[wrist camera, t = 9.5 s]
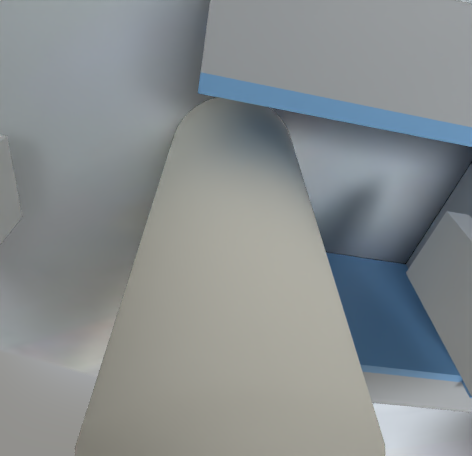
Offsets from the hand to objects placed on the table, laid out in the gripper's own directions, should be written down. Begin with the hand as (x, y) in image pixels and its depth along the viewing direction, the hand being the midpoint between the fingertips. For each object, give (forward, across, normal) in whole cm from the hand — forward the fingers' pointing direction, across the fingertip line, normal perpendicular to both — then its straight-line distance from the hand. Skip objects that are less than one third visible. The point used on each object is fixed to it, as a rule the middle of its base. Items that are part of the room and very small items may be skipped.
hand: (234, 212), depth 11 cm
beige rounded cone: (+4, 0, 0) cm, 4 cm away
